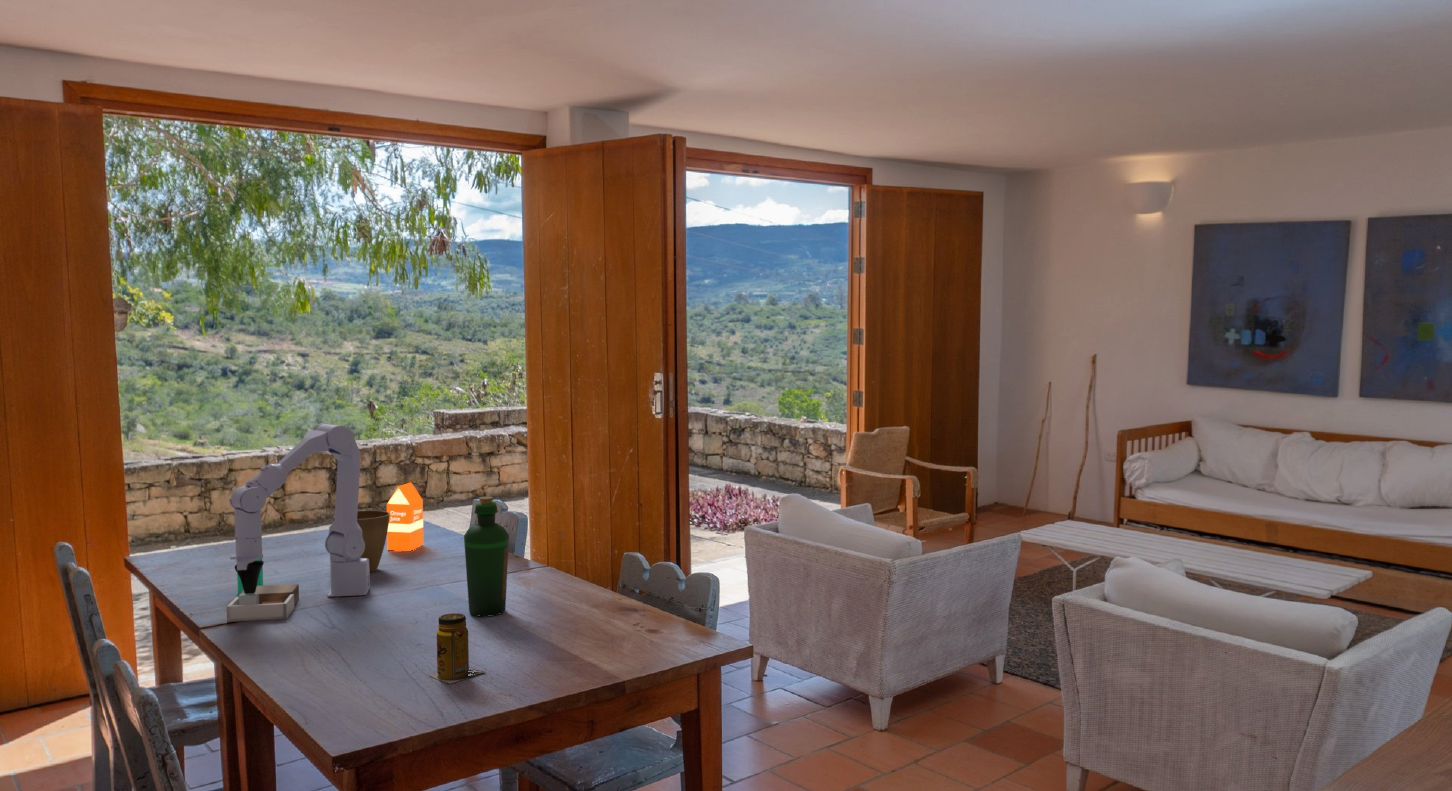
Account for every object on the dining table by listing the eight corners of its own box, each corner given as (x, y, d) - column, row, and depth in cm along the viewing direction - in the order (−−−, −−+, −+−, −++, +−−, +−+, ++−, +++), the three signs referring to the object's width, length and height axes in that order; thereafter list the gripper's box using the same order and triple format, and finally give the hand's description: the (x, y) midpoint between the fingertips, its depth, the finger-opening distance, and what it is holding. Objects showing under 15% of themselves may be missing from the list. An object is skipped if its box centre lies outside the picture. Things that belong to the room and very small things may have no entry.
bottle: (518, 609, 245) (517, 495, 243) (491, 621, 235) (489, 502, 233) (483, 604, 249) (482, 492, 247) (455, 615, 240) (453, 499, 238)
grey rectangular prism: (258, 593, 241) (256, 595, 239) (259, 609, 241) (256, 611, 239) (241, 593, 240) (238, 595, 239) (241, 610, 241) (239, 612, 239)
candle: (253, 596, 255) (251, 549, 254) (232, 594, 256) (231, 548, 256) (268, 590, 261) (267, 544, 260) (248, 588, 262) (246, 543, 261)
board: (299, 599, 252) (298, 583, 252) (292, 608, 245) (292, 592, 244) (247, 602, 250) (247, 586, 249) (239, 611, 242) (238, 594, 242)
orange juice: (386, 550, 307) (385, 486, 306) (400, 544, 316) (399, 481, 314) (410, 551, 306) (409, 487, 304) (424, 545, 314) (423, 482, 313)
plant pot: (402, 568, 285) (401, 513, 284) (357, 579, 272) (356, 521, 271) (367, 561, 293) (366, 507, 292) (323, 572, 280) (322, 515, 279)
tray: (294, 608, 244) (294, 594, 244) (286, 618, 236) (286, 603, 236) (236, 611, 242) (236, 596, 241) (227, 621, 233) (226, 606, 233)
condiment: (428, 676, 198) (427, 616, 198) (464, 665, 205) (463, 607, 204) (449, 684, 194) (449, 623, 193) (486, 673, 200) (485, 614, 199)
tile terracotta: (280, 601, 237) (279, 609, 236) (283, 602, 241) (283, 611, 240) (262, 602, 236) (261, 610, 235) (266, 603, 240) (265, 612, 239)
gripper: (238, 531, 245) (239, 585, 246) (221, 544, 231) (223, 601, 232) (269, 530, 247) (270, 584, 248) (254, 542, 233) (256, 600, 234)
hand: (250, 592), depth 240 cm, fingers closed
